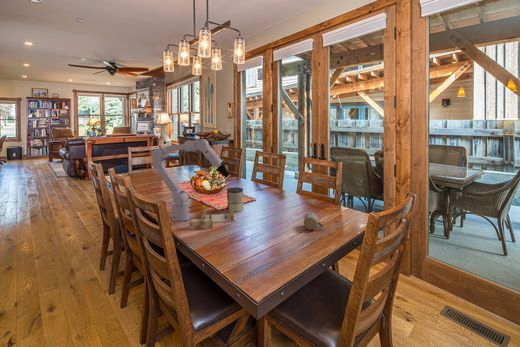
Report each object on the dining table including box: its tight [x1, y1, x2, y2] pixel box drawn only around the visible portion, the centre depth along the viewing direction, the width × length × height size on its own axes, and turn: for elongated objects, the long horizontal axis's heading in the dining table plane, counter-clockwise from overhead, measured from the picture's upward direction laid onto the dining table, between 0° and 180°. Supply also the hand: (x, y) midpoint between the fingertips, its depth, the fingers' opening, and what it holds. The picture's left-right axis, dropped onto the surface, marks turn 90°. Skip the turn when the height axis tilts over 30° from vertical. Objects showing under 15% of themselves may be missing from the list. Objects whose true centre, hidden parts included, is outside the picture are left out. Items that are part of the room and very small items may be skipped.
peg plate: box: [200, 210, 237, 223], centre depth 172 cm, size 20×12×3 cm, turn 98°
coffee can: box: [226, 186, 244, 214], centre depth 187 cm, size 10×10×14 cm
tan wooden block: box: [188, 218, 213, 231], centre depth 158 cm, size 12×4×5 cm, turn 97°
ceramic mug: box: [303, 211, 325, 231], centre depth 157 cm, size 11×8×8 cm
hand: (227, 176), depth 166 cm, fingers open, 7 cm apart
